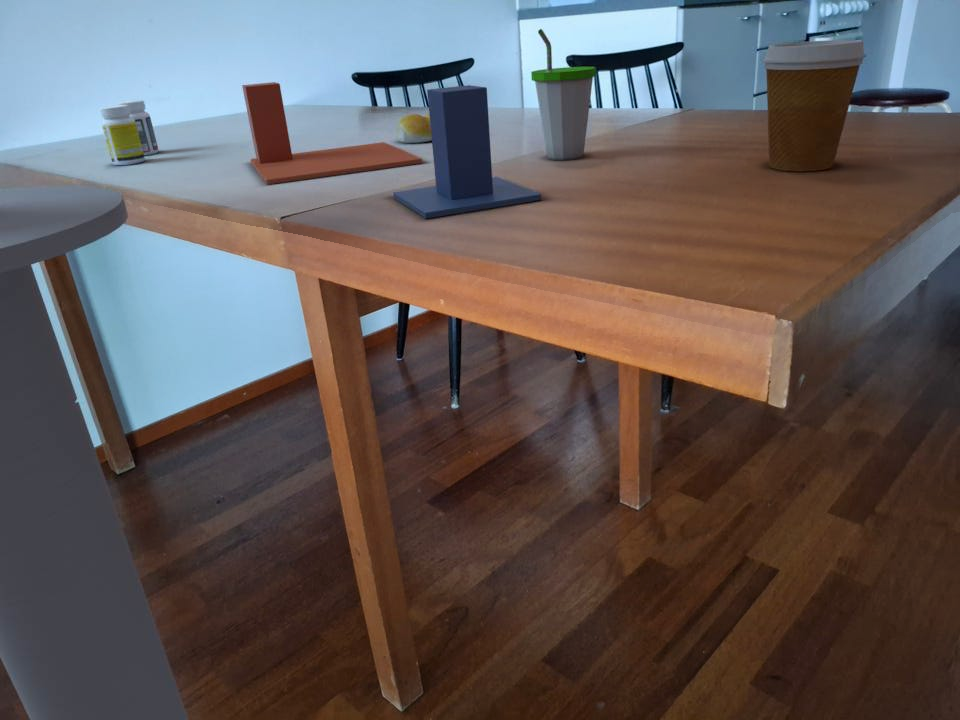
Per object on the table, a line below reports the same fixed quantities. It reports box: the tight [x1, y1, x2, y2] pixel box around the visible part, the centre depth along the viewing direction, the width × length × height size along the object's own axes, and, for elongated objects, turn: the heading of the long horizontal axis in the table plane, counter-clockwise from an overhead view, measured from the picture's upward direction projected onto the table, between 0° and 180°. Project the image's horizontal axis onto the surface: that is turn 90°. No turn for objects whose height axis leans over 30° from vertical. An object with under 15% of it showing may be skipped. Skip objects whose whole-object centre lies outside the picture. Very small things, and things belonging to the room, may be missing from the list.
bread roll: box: [395, 113, 432, 144], centre depth 114 cm, size 8×9×4 cm
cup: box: [530, 28, 597, 161], centre depth 88 cm, size 8×8×15 cm
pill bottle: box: [117, 99, 160, 156], centre depth 120 cm, size 5×5×8 cm
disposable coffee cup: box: [761, 39, 868, 172], centre depth 74 cm, size 10×10×12 cm
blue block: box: [426, 84, 493, 200], centre depth 71 cm, size 4×4×10 cm
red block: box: [241, 81, 293, 164], centre depth 100 cm, size 4×4×10 cm
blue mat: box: [392, 176, 542, 220], centre depth 74 cm, size 12×11×1 cm
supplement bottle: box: [99, 104, 146, 166], centre depth 111 cm, size 5×5×8 cm
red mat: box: [250, 141, 423, 185], centre depth 99 cm, size 20×19×1 cm
